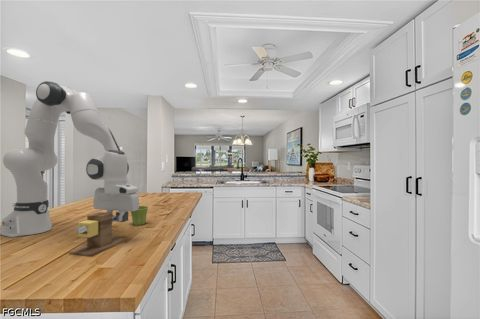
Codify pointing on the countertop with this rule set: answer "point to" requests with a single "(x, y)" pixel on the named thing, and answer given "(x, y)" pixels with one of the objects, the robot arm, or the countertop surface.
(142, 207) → the plant pot
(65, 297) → the countertop surface
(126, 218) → the shaft
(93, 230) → the block
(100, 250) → the stand
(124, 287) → the countertop surface
